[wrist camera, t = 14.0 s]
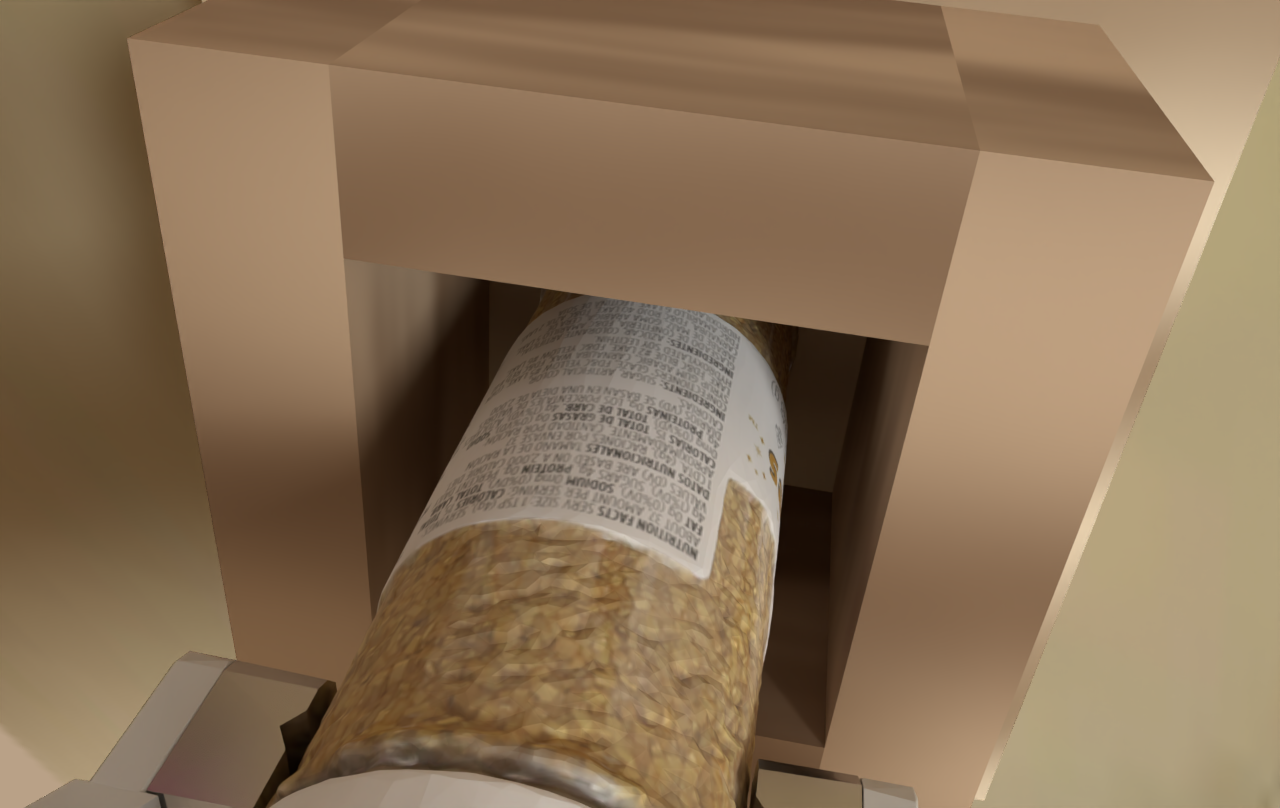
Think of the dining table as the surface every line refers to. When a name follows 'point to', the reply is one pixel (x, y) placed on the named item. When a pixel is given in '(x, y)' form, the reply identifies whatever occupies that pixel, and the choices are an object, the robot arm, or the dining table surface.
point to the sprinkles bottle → (580, 580)
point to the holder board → (704, 294)
